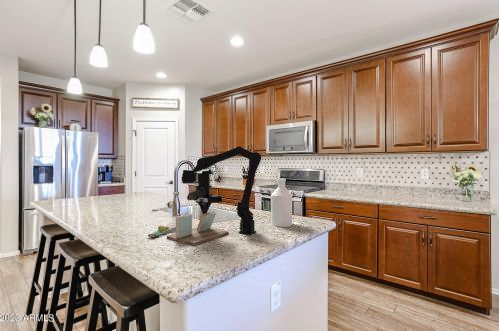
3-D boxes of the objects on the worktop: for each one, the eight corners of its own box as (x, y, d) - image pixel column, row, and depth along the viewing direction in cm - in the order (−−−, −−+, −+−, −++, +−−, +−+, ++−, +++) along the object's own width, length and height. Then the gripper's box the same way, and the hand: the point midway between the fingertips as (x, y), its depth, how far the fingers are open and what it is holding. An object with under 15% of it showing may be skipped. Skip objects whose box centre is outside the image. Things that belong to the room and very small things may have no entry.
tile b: (192, 233, 124) (191, 214, 124) (178, 237, 118) (178, 217, 117) (189, 233, 125) (189, 214, 125) (175, 237, 119) (175, 217, 118)
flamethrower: (139, 237, 123) (156, 240, 119) (139, 231, 123) (157, 234, 119) (178, 224, 150) (193, 227, 146) (178, 219, 150) (193, 222, 146)
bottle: (266, 224, 146) (266, 179, 146) (277, 220, 156) (277, 177, 155) (286, 227, 139) (286, 179, 139) (296, 223, 149) (296, 178, 149)
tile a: (210, 228, 134) (216, 213, 131) (198, 231, 127) (204, 216, 125) (208, 226, 135) (213, 211, 132) (196, 230, 128) (202, 214, 126)
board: (228, 233, 128) (228, 231, 128) (194, 245, 110) (194, 242, 110) (202, 228, 139) (202, 226, 139) (166, 238, 121) (166, 235, 121)
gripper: (178, 184, 129) (178, 216, 130) (205, 185, 118) (206, 220, 119) (195, 182, 138) (195, 212, 139) (222, 183, 127) (222, 216, 128)
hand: (204, 215), depth 131 cm, fingers closed
